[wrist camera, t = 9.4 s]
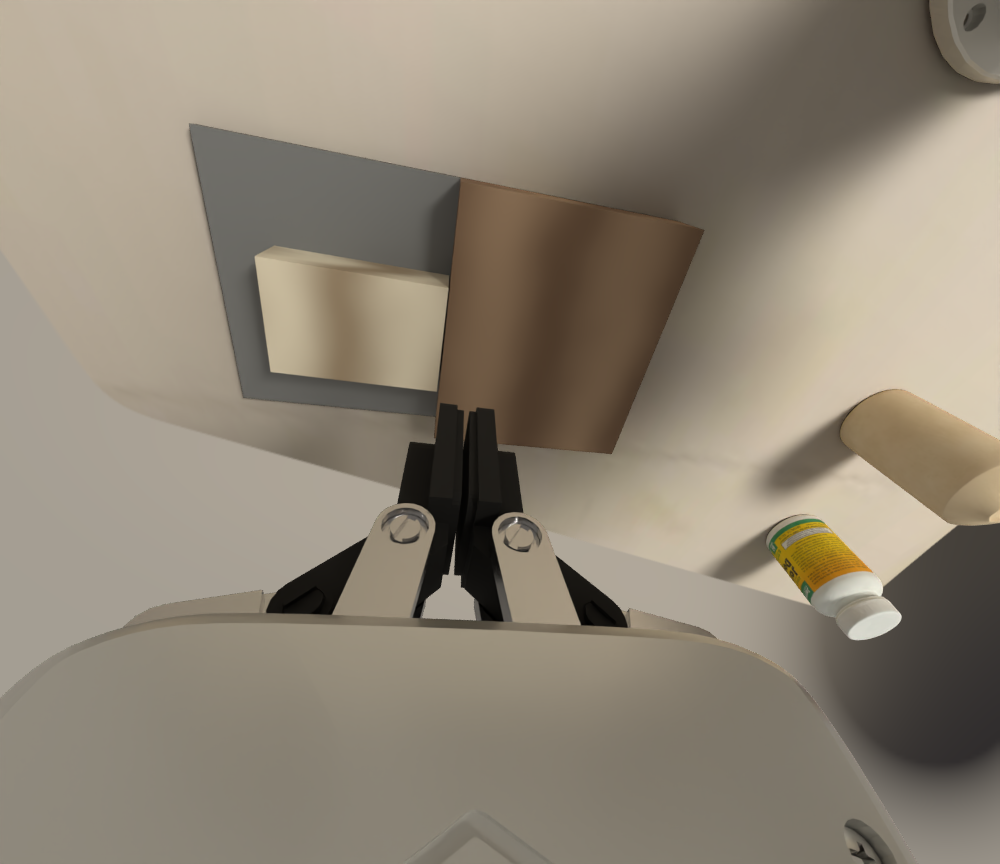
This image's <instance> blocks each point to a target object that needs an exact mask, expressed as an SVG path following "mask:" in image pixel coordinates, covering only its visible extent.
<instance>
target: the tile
mask: <svg viewBox="0 0 1000 864" xmlns="http://www.w3.org/2000/svg"><path fill="white" fill-rule="evenodd" d="M255 264H256V271H257V278H258V285H259V292H260V299H261V307H262V314H263V321H264V328H265V335H266V343H267V350H268V357H269V364H270V371H271V372H275V373H284V374H292V375H301V376H309V377H317V378H326V379H334V380H343V381H351V382H359V383H368V384H376V385H385V386H393V387H402V388H410V389H418V390H427V391H435V392H437V384H438V376H439V367H440V358H441V349H442V341H443V332H444V323H445V314H446V306H447V297H448V288H449V275H444V274H438V273H432V272H426V271H420V270H414V269H409V268H403V267H397V266H391V265H385V264H379V263H373V262H367V261H362V260H356V259H350V258H344V257H338V256H332V255H326V254H320V253H315V252H309V251H303V250H297V249H291V248H285V247H279V246H272V247H271V248H269V249H267V250H265V251H263V252H261V253H259V254H258V255H256V256H255Z"/></svg>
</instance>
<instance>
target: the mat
mask: <svg viewBox="0 0 1000 864" xmlns="http://www.w3.org/2000/svg"><path fill="white" fill-rule="evenodd" d="M189 127H190V132H191V137H192V142H193V147H194V152H195V157H196V162H197V167H198V172H199V177H200V182H201V187H202V192H203V197H204V202H205V207H206V212H207V217H208V222H209V227H210V232H211V237H212V242H213V247H214V252H215V257H216V262H217V267H218V272H219V277H220V282H221V287H222V292H223V297H224V302H225V307H226V312H227V317H228V322H229V327H230V332H231V337H232V342H233V347H234V352H235V357H236V362H237V367H238V372H239V377H240V382H241V387H242V392H243V397H244V398H252V399H262V400H273V401H283V402H293V403H303V404H313V405H323V406H333V407H343V408H353V409H364V410H374V411H384V412H394V413H404V414H414V415H424V416H434V417H436V409H437V399H438V390H439V380H440V370H441V361H442V351H443V342H444V332H445V323H444V332H443V341H442V349H441V358H440V367H439V376H438V384H437V392H435V391H427V390H418V389H410V388H402V387H393V386H385V385H376V384H368V383H359V382H351V381H343V380H334V379H326V378H317V377H309V376H301V375H292V374H284V373H275V372H271V371H270V364H269V357H268V350H267V343H266V335H265V328H264V321H263V314H262V307H261V299H260V292H259V285H258V278H257V271H256V264H255V256H256V255H258V254H259V253H261V252H263V251H265V250H267V249H269V248H271V247H272V246H279V247H285V248H291V249H297V250H303V251H309V252H315V253H320V254H326V255H332V256H338V257H344V258H350V259H356V260H362V261H367V262H373V263H379V264H385V265H391V266H397V267H403V268H409V269H414V270H420V271H426V272H432V273H438V274H444V275H449V284H450V274H451V265H452V255H453V246H454V236H455V226H456V217H457V207H458V198H459V188H460V177H456V176H451V175H446V174H441V173H436V172H431V171H426V170H421V169H416V168H411V167H406V166H401V165H396V164H391V163H386V162H381V161H376V160H371V159H366V158H361V157H356V156H351V155H346V154H341V153H336V152H331V151H326V150H322V149H317V148H312V147H307V146H302V145H297V144H292V143H287V142H282V141H277V140H272V139H267V138H262V137H257V136H252V135H247V134H242V133H237V132H232V131H227V130H222V129H217V128H212V127H207V126H202V125H197V124H190V123H189ZM448 294H449V288H448ZM447 303H448V297H447ZM446 313H447V306H446ZM445 322H446V314H445Z"/></svg>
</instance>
